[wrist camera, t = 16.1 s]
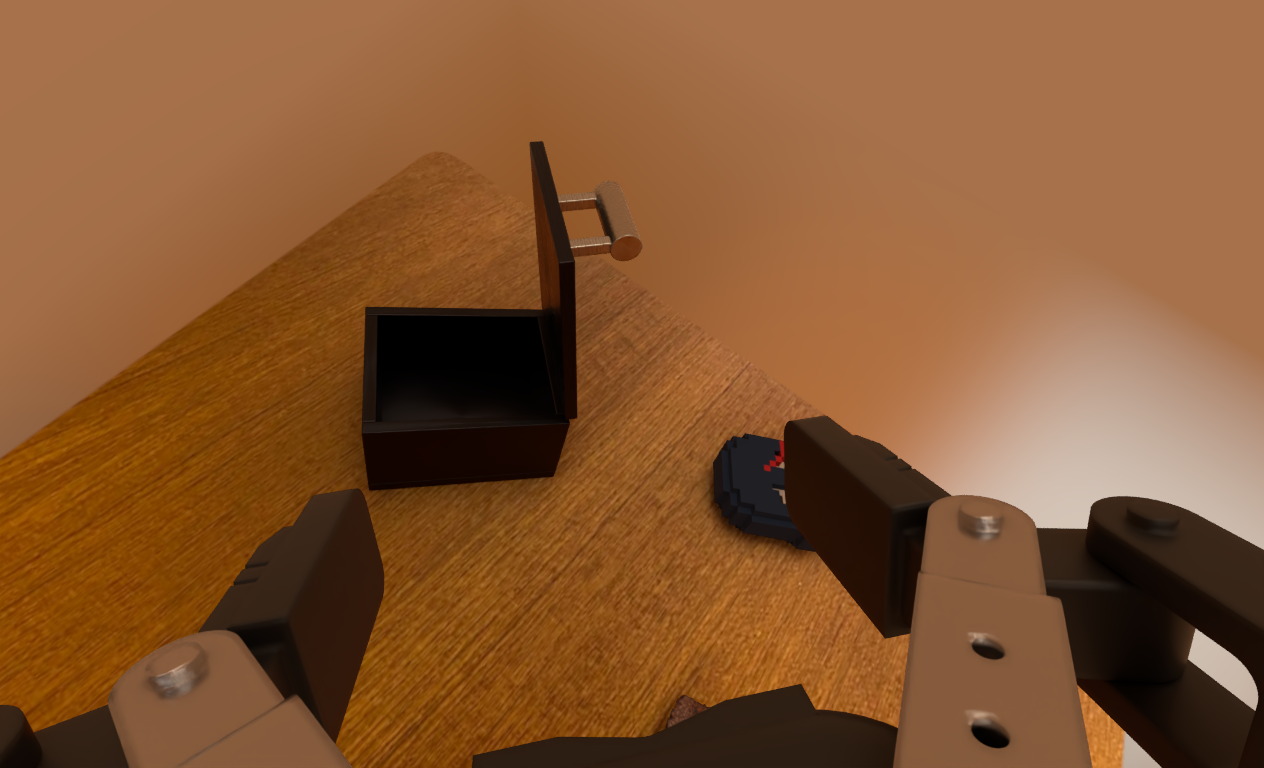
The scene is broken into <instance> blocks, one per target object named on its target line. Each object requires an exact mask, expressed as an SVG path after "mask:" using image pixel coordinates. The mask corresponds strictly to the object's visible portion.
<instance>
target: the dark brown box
mask: <svg viewBox="0 0 1264 768" xmlns="http://www.w3.org/2000/svg"><path fill="white" fill-rule="evenodd" d="M569 425H570V421H569V420H565V416H564V411H563V406H562V401H561V396H560V392H559V387H558V382H557V377H556V372H555V367H554V362H553V358H552V353H551V348H550V343H549V338H548V333H547V328H546V324H545V319H544V314H543V310H533V309H472V308H410V307H366V308H365V342H364V375H363V409H362V439H363V447H364V455H365V463H366V470H367V478H368V485H369V490H382V489H396V488H409V487H422V486H435V485H448V484H461V483H474V482H488V481H501V480H514V479H527V478H540V477H553V476H554V474H555V471H556V468H557V465H558V461H559V458H560V455H561V451H562V448H563V445H564V441H565V438H566V435H567V431H568V428H569Z"/></svg>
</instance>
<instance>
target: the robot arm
mask: <svg viewBox="0 0 1264 768" xmlns="http://www.w3.org/2000/svg"><path fill="white" fill-rule="evenodd" d="M784 486H785V501H786V506H787V510H788V513H789V516H790V518H791V520H792V522H793V524H794V525H795V526H796V528H797V529H798V530H799V531H800V533H801V534H802V535H803V536H804V538H805V539H806V540H807V541H808V543H809V544H810V545H811V546H812V548H813V549H814V550H815V551H816V553H817V554H818V555H819V556H820V558H821V559H822V560H823V561H824V563H825V564H826V565H827V566H828V568H829V569H830V570H831V571H832V573H833V574H834V575H835V576H836V578H837V579H838V580H839V581H840V583H841V584H842V585H843V586H844V588H845V589H846V590H847V591H848V593H849V594H850V595H851V596H852V598H853V599H854V600H855V601H856V603H857V604H858V605H859V606H860V608H861V609H862V610H863V611H864V613H865V614H866V615H867V616H868V618H869V619H870V620H871V621H872V623H873V624H874V625H875V626H876V628H877V629H878V630H879V631H880V633H881V634H882V635H883V636H884V638H885V639H886V638H891V637H895V636H900V635H905V634H910V641H909V648H908V656H907V664H906V671H905V679H904V687H903V694H902V702H901V710H900V718H899V725H898V728H896V727H894V726H892V725H889V724H887V723H884V722H881V721H878V720H875V719H872V718H868V717H865V716H861V715H856V714H851V713H847V712H839V711H831V710H815V708H814V706H813V704H812V702H811V701H810V699H809V697H808V695H807V694H806V692H805V690H804V688H803V686H802V685H801V684H798V685H794V686H789V687H785V688H780V689H776V690H771V691H766V692H762V693H757V694H753V695H748V696H743V697H739V698H734V699H730V700H725V701H723V702H721V703H719V704H717V705H714V706H712V707H710V708H708V709H706V710H704V711H702V712H700V713H698V714H696V715H694V716H692V717H689V718H687V719H685V720H683V721H681V722H679V723H677V724H675V725H673V726H671V727H669V728H666V729H664V730H662V731H660V732H658V733H656V734H653V735H651V736H647V737H639V738H631V737H555V738H551V739H546V740H542V741H537V742H532V743H528V744H523V745H519V746H514V747H510V748H505V749H500V750H496V751H491V752H487V753H482V754H477V755H473V762H472V768H1092V763H1091V757H1090V752H1089V747H1088V741H1087V736H1086V730H1085V725H1084V720H1083V714H1082V709H1081V703H1080V698H1079V693H1078V687H1077V685H1078V686H1079V687H1080V688H1081V689H1082V690H1083V691H1084V692H1085V693H1086V694H1087V695H1088V696H1089V697H1090V698H1092V699H1093V700H1094V701H1095V702H1096V703H1097V704H1098V705H1099V706H1100V707H1101V708H1102V709H1103V710H1104V711H1105V712H1106V713H1107V714H1108V715H1109V716H1110V717H1111V718H1112V719H1113V720H1114V721H1115V722H1116V723H1117V724H1118V725H1119V726H1120V727H1121V728H1122V729H1123V730H1124V731H1125V732H1126V733H1127V734H1128V735H1129V736H1130V737H1131V738H1133V740H1134V741H1136V742H1137V744H1138V745H1139V746H1140V747H1142V749H1144V750H1145V751H1146V752H1147V753H1148V754H1149V755H1150V756H1151V757H1152V758H1153V759H1154V760H1155V761H1156V762H1157V763H1158V764H1159V765H1160V766H1161V767H1162V768H1264V550H1263V549H1261V548H1259V547H1257V546H1255V545H1254V544H1252V543H1250V542H1248V541H1246V540H1244V539H1242V538H1240V537H1238V536H1237V535H1235V534H1233V533H1231V532H1229V531H1227V530H1225V529H1223V528H1221V527H1219V526H1218V525H1216V524H1214V523H1212V522H1210V521H1208V520H1206V519H1205V518H1203V517H1201V516H1199V515H1197V514H1195V513H1193V512H1191V511H1189V510H1186V509H1184V508H1181V507H1179V506H1175V505H1172V504H1169V503H1165V502H1162V501H1158V500H1152V499H1148V498H1140V497H1128V496H1117V497H1108V498H1104V499H1101V500H1098V501H1096V502H1095V503H1093V505H1092V506H1091V510H1090V516H1089V522H1088V527H1087V529H1057V528H1036V526H1035V523H1034V521H1033V520H1032V519H1031V518H1030V517H1029V516H1028V515H1027V514H1026V513H1024V512H1023V511H1022V510H1020V509H1018V508H1016V507H1015V506H1012V505H1010V504H1008V503H1005V502H1002V501H999V500H996V499H991V498H987V497H981V496H972V495H958V496H951V495H950V494H949V493H947V492H946V491H944V490H943V489H942V488H940V487H939V486H938V485H936V484H935V483H934V482H932V481H931V480H929V479H928V478H927V477H925V476H924V475H923V474H921V473H920V472H918V471H917V470H916V469H912V468H911V466H910V465H909V464H907V463H906V462H905V461H903V460H902V459H898V457H897V456H896V455H895V454H894V453H892V452H891V451H889V450H888V449H887V448H886V447H884V446H883V445H881V444H880V443H877V442H874V441H871V440H869V439H866V438H863V437H861V436H858V435H851V434H850V433H849V432H848V431H846V430H845V429H844V428H842V427H841V426H840V425H838V424H837V423H836V422H834V421H833V420H832V419H831V418H829V417H828V416H819V417H812V418H806V419H800V420H793V421H788V422H787V424H786V426H785V429H784ZM383 593H384V571H383V564H382V560H381V556H380V552H379V549H378V545H377V541H376V537H375V533H374V530H373V526H372V522H371V518H370V514H369V511H368V507H367V503H366V500H365V497H364V495H363V493H362V491H361V490H360V489H358V488H356V489H350V490H343V491H337V492H331V493H324V494H318V495H314V496H312V497H311V499H310V500H309V502H308V503H307V505H306V506H305V508H304V509H303V511H302V512H301V514H300V515H299V517H298V519H297V520H296V522H295V523H294V525H293V526H289V527H283V528H282V529H281V530H279V531H278V532H277V533H275V534H274V535H273V536H272V537H270V538H269V539H268V540H266V541H265V542H264V543H262V544H261V545H260V546H259V547H258V548H257V550H256V551H255V552H254V554H253V555H252V557H251V558H250V560H249V561H248V562H247V564H246V565H245V569H243V570H242V571H241V572H240V574H239V575H238V577H237V578H236V579H235V581H234V586H230V588H229V589H228V591H227V592H226V594H225V595H224V596H223V598H222V599H221V601H220V602H219V603H218V605H217V606H216V608H215V609H214V611H213V612H212V613H211V615H210V616H209V618H208V619H207V620H206V622H205V623H204V625H203V626H202V628H201V629H200V630H199V632H198V633H196V634H193V635H189V636H186V637H183V638H181V639H178V640H176V641H173V642H171V643H169V644H167V645H165V646H163V647H161V648H159V649H157V650H155V651H154V652H152V653H150V654H149V655H147V656H146V657H144V658H143V659H141V660H140V661H139V662H137V663H136V664H134V665H133V666H132V667H131V668H130V669H129V670H127V671H126V672H125V673H124V674H123V675H122V676H121V677H120V679H119V680H118V681H117V682H116V684H115V685H114V686H113V688H112V690H111V692H110V694H109V698H108V705H105V706H103V707H101V708H98V709H95V710H93V711H90V712H87V713H85V714H82V715H79V716H77V717H74V718H71V719H69V720H66V721H64V722H61V723H58V724H56V725H53V726H50V727H48V728H45V729H42V730H40V731H37V732H33V730H32V728H31V727H30V725H29V723H28V721H27V719H26V717H25V715H24V713H23V712H22V711H21V710H20V709H19V708H17V707H15V706H10V705H0V768H353V767H352V766H351V765H350V763H349V762H348V761H347V759H346V758H345V757H344V755H343V754H342V753H341V751H340V750H339V749H338V747H337V746H336V745H335V744H336V741H337V737H338V734H339V731H340V728H341V725H342V722H343V719H344V716H345V713H346V710H347V707H348V703H349V700H350V697H351V694H352V691H353V688H354V685H355V682H356V679H357V676H358V672H359V669H360V666H361V663H362V660H363V657H364V654H365V651H366V648H367V645H368V642H369V638H370V635H371V632H372V629H373V626H374V623H375V620H376V617H377V614H378V611H379V608H380V604H381V601H382V598H383ZM1195 628H1196V629H1198V630H1199V631H1200V632H1202V633H1203V634H1205V635H1206V636H1207V637H1209V638H1210V639H1212V640H1213V641H1214V642H1216V643H1217V644H1219V645H1220V646H1221V647H1223V648H1224V649H1226V650H1227V651H1229V652H1230V653H1231V654H1233V655H1234V656H1235V657H1236V658H1238V660H1239V661H1241V662H1242V664H1243V665H1244V666H1245V667H1246V668H1247V669H1248V671H1249V673H1250V674H1251V676H1252V677H1253V680H1254V681H1255V684H1256V687H1257V690H1258V704H1257V708H1256V711H1254V710H1253V709H1252V708H1250V707H1249V706H1248V705H1246V704H1245V703H1244V702H1243V701H1241V700H1240V699H1239V698H1237V697H1236V696H1235V695H1233V694H1232V693H1231V692H1230V691H1228V690H1227V689H1226V688H1224V687H1223V686H1222V685H1220V684H1219V683H1217V681H1215V680H1214V679H1213V678H1211V677H1210V676H1209V675H1207V674H1206V673H1205V672H1204V671H1202V670H1201V669H1200V668H1198V667H1197V666H1196V665H1194V664H1193V663H1192V662H1190V661H1189V660H1188V656H1189V652H1190V648H1191V644H1192V640H1193V636H1194V632H1195Z"/></svg>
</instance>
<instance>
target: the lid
mask: <svg viewBox="0 0 1264 768" xmlns="http://www.w3.org/2000/svg"><path fill="white" fill-rule="evenodd" d="M530 156H531V168H532V182H533V195H534V207H535V222H536V235H537V248H538V262H539V275H540V288H541V301H542V309H543V314H544V319H545V324H546V328H547V333H548V338H549V343H550V348H551V353H552V358H553V362H554V367H555V372H556V377H557V382H558V387H559V392H560V396H561V401H562V406H563V411H564V416H565V420H569V419H575V418H577V365H576V297H575V260H574V257H579V256H588V255H597V254H607V253H611V255H612V257H613V258H615V259H616V260H619V261H629V260H631V259H634V258H635V257H636V256H637V255H638V254H639V253H640V252H641V249H642V242H641V239H640V236H639V234H638V231H637V228H636V225H635V223H634V220H633V218H632V215H631V212H630V209H629V207H628V204H627V201H626V199H625V196H624V193H623V190H622V188H621V186H620V185H619V184H618V183H616V182H614V181H605V182H602V183H600V184H599V185H598V186H597V187H596V188H595V189H594V192H588V193H578V194H566V195H557V192H556V188H555V184H554V181H553V177H552V174H551V169H550V166H549V162H548V158H547V154H546V151H545V147H544V143H543V142H542V141H540V142H530ZM594 208H596V209H597V213H598V216H599V219H600V222H601V225H602V228H603V231H604V234H605V236H602V237H592V238H582V239H573V240H569V237H568V233H567V230H566V226H565V222H564V218H563V215H562V212H563V211H572V210H584V209H594Z"/></svg>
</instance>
